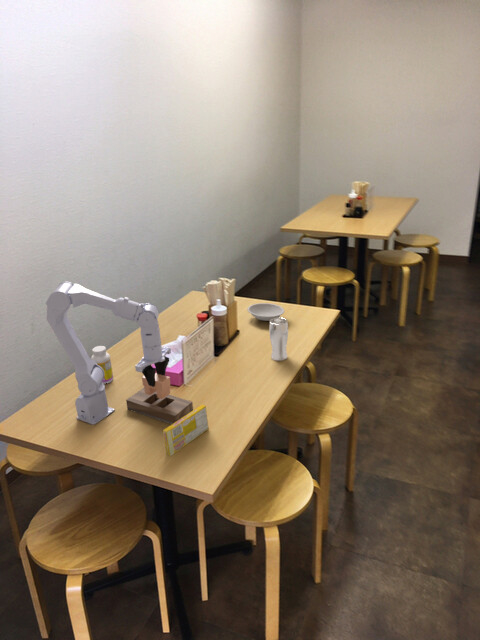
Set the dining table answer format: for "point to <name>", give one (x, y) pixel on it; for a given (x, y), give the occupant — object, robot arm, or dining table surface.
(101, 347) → the supplement bottle
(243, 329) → the dining table surface
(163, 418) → the slot base
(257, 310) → the dish
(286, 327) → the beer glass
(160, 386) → the peach arch block
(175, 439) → the candy box
